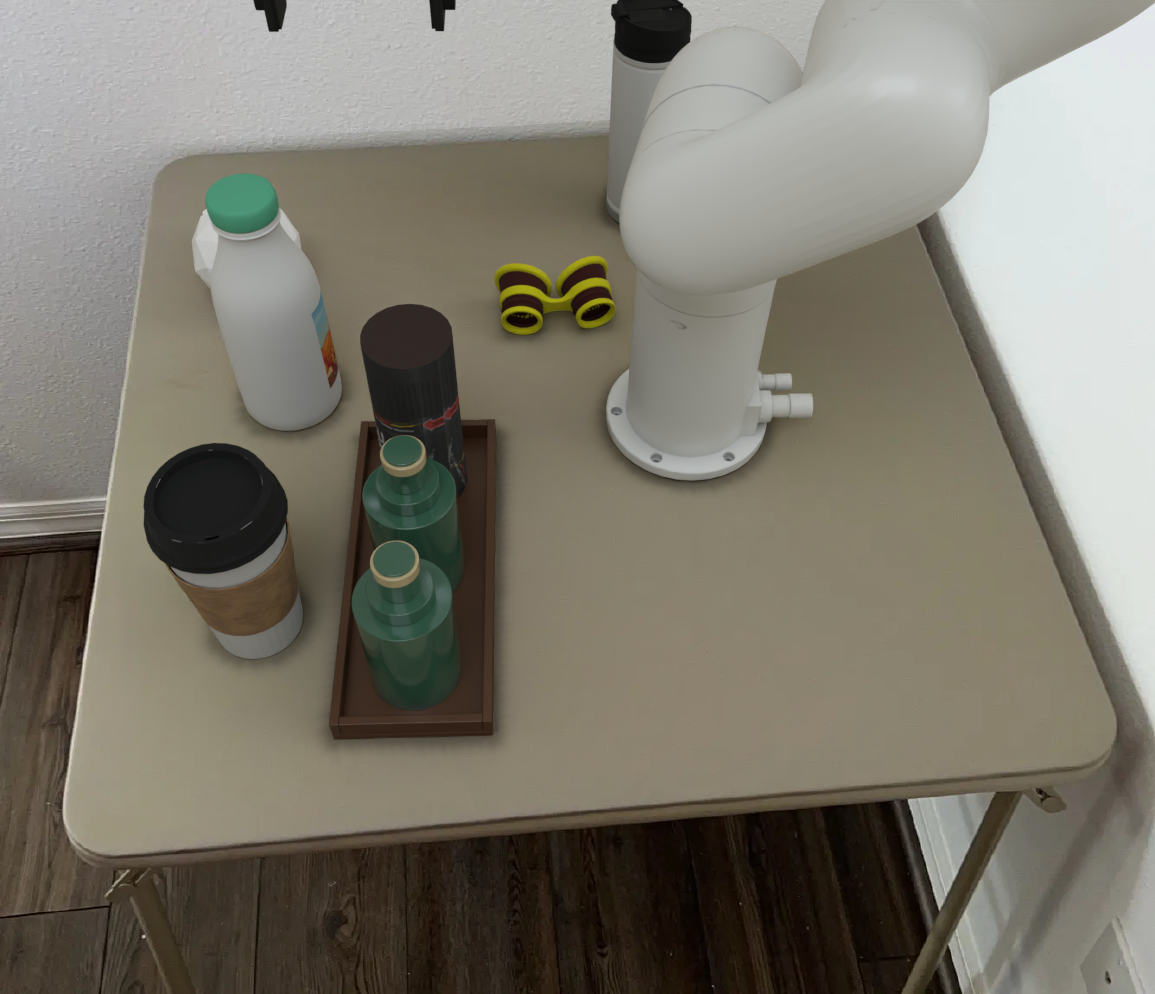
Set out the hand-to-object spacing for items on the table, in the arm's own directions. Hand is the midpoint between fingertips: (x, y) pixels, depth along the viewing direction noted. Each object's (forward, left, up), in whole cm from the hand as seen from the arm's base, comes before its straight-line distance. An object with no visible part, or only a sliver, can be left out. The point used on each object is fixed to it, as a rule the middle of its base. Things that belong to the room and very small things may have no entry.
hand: (359, 19), depth 68 cm
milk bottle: (+9, +3, -31) cm, 32 cm away
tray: (-2, +20, -30) cm, 36 cm away
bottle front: (-2, +28, -30) cm, 41 cm away
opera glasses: (-12, -6, -31) cm, 33 cm away
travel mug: (-20, -20, -31) cm, 42 cm away
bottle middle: (-2, +20, -30) cm, 36 cm away
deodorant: (-2, +12, -30) cm, 32 cm away
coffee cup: (+9, +24, -31) cm, 40 cm away
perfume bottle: (+14, -11, -31) cm, 35 cm away
